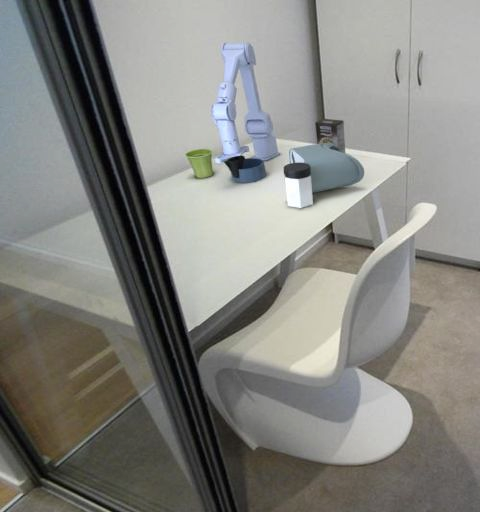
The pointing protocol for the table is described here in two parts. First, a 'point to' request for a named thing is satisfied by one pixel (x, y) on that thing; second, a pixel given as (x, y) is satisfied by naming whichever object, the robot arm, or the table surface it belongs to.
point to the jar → (298, 184)
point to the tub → (251, 171)
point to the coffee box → (331, 133)
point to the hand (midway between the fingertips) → (237, 177)
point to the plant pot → (200, 162)
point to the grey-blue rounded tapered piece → (328, 166)
